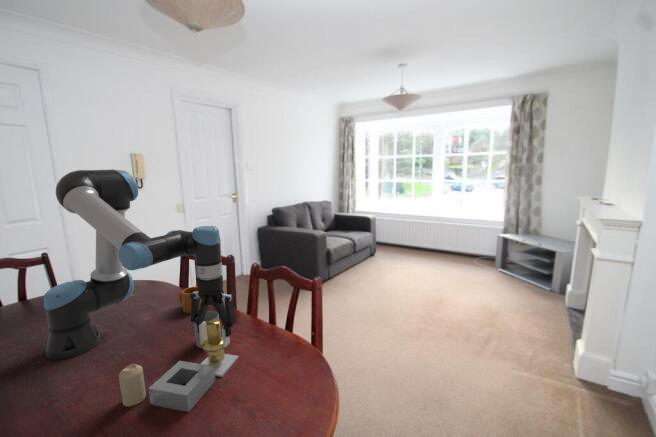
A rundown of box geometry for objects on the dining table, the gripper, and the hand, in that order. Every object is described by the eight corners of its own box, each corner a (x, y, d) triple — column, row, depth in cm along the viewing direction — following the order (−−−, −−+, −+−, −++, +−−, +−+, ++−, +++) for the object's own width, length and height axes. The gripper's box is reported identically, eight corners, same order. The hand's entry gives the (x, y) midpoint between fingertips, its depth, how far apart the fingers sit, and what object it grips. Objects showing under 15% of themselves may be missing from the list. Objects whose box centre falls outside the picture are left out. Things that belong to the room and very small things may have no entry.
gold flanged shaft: (198, 364, 95) (195, 327, 93) (213, 350, 103) (210, 315, 101) (220, 367, 94) (217, 329, 92) (233, 353, 101) (230, 317, 99)
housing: (150, 404, 82) (148, 388, 81) (181, 375, 94) (179, 360, 93) (188, 412, 79) (186, 395, 79) (215, 381, 91) (214, 366, 90)
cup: (211, 349, 107) (209, 323, 105) (191, 346, 109) (188, 321, 107) (224, 336, 115) (222, 312, 114) (205, 334, 117) (203, 310, 115)
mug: (191, 301, 146) (190, 283, 145) (207, 307, 140) (206, 288, 139) (174, 308, 139) (172, 289, 137) (190, 314, 133) (189, 295, 131)
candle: (129, 392, 87) (125, 361, 85) (149, 391, 87) (145, 360, 85) (118, 407, 81) (113, 374, 80) (139, 406, 82) (135, 372, 80)
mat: (193, 372, 95) (193, 370, 95) (212, 353, 104) (212, 352, 104) (222, 377, 93) (221, 375, 92) (238, 357, 102) (238, 355, 102)
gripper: (173, 277, 92) (179, 346, 96) (232, 282, 88) (237, 354, 91) (189, 269, 99) (195, 333, 103) (245, 274, 95) (249, 340, 99)
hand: (215, 343), depth 97 cm, fingers closed on gold flanged shaft, 7 cm apart
